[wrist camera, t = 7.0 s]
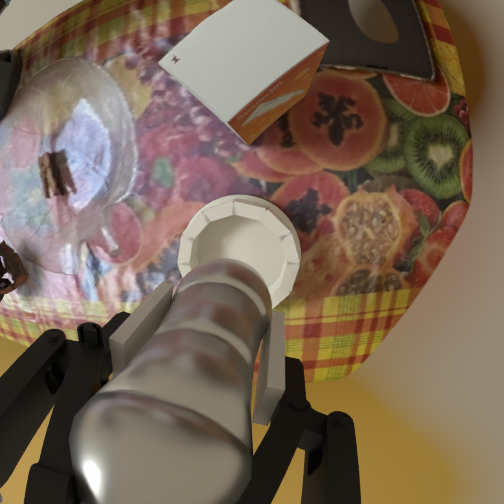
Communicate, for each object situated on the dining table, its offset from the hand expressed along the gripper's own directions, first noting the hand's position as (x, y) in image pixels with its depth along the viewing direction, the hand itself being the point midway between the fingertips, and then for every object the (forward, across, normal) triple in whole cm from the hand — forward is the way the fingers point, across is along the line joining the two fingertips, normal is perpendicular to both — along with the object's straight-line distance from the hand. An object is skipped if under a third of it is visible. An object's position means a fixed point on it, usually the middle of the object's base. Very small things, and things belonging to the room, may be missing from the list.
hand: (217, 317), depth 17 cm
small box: (+13, -2, +16) cm, 21 cm away
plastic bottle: (+4, 0, 0) cm, 4 cm away
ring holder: (+13, 0, 0) cm, 13 cm away
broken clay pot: (+13, -39, -12) cm, 43 cm away
